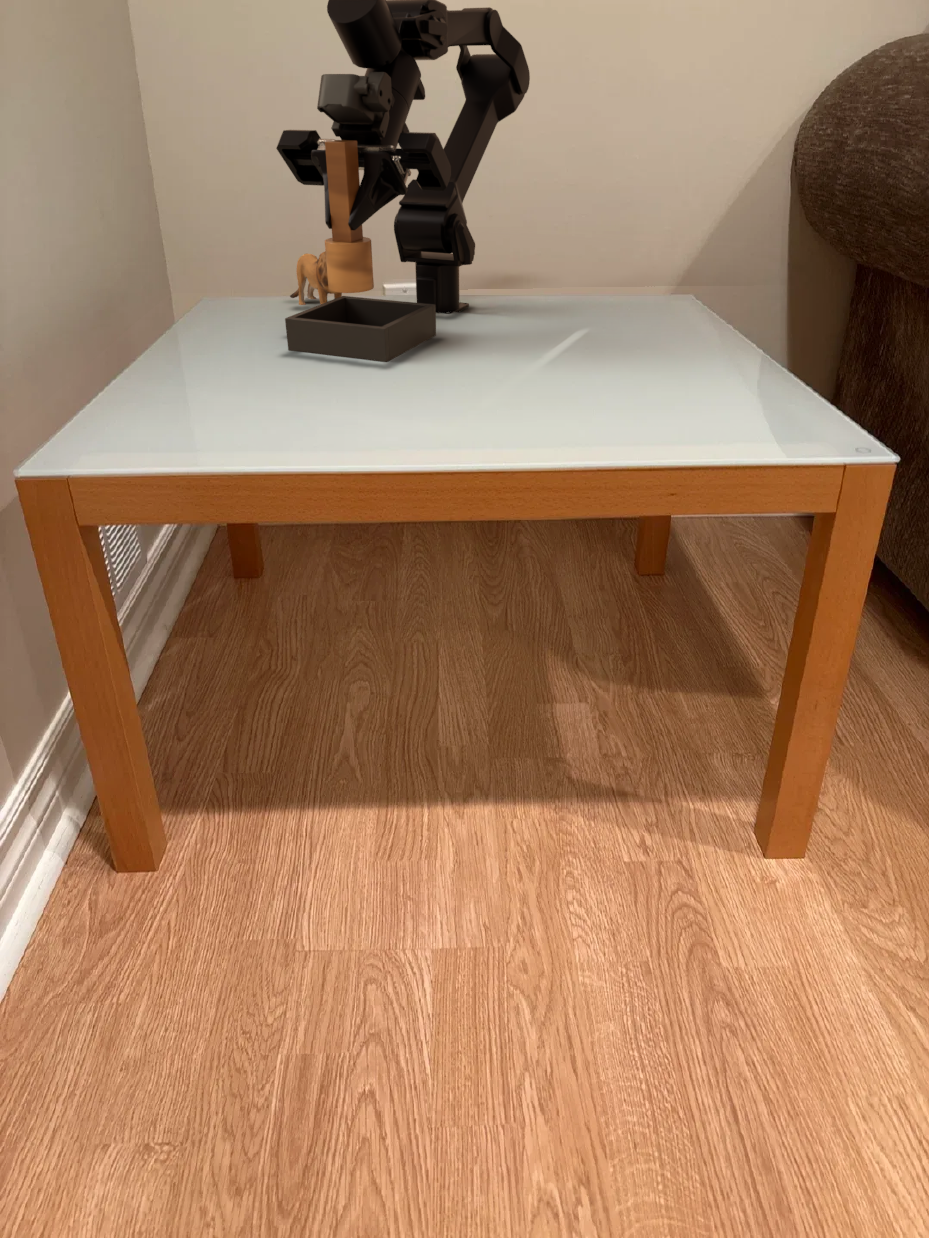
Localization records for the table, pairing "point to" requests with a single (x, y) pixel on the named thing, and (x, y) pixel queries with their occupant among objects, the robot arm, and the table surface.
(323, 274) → the lion figurine
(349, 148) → the wooden peg stand
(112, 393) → the table surface
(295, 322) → the box
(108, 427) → the table surface
